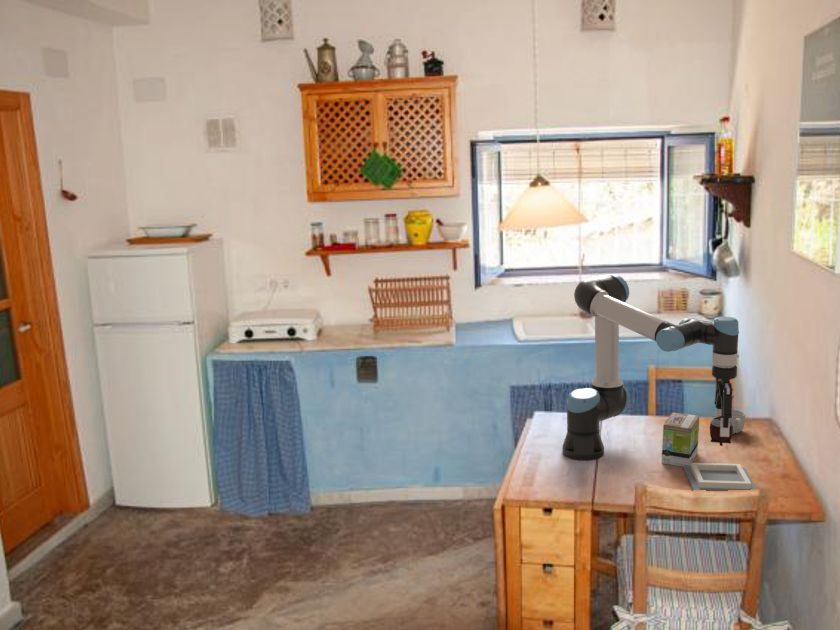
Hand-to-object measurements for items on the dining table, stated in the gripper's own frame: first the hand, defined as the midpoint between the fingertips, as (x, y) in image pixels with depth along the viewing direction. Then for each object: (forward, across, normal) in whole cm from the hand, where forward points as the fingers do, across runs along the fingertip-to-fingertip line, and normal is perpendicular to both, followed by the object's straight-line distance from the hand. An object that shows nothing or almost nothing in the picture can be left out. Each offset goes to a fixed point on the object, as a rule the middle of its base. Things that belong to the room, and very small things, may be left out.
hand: (722, 431), depth 259 cm
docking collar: (+17, 0, 0) cm, 17 cm away
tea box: (+18, +19, +10) cm, 28 cm away
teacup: (+18, +46, -13) cm, 51 cm away
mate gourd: (+4, 0, 0) cm, 4 cm away
